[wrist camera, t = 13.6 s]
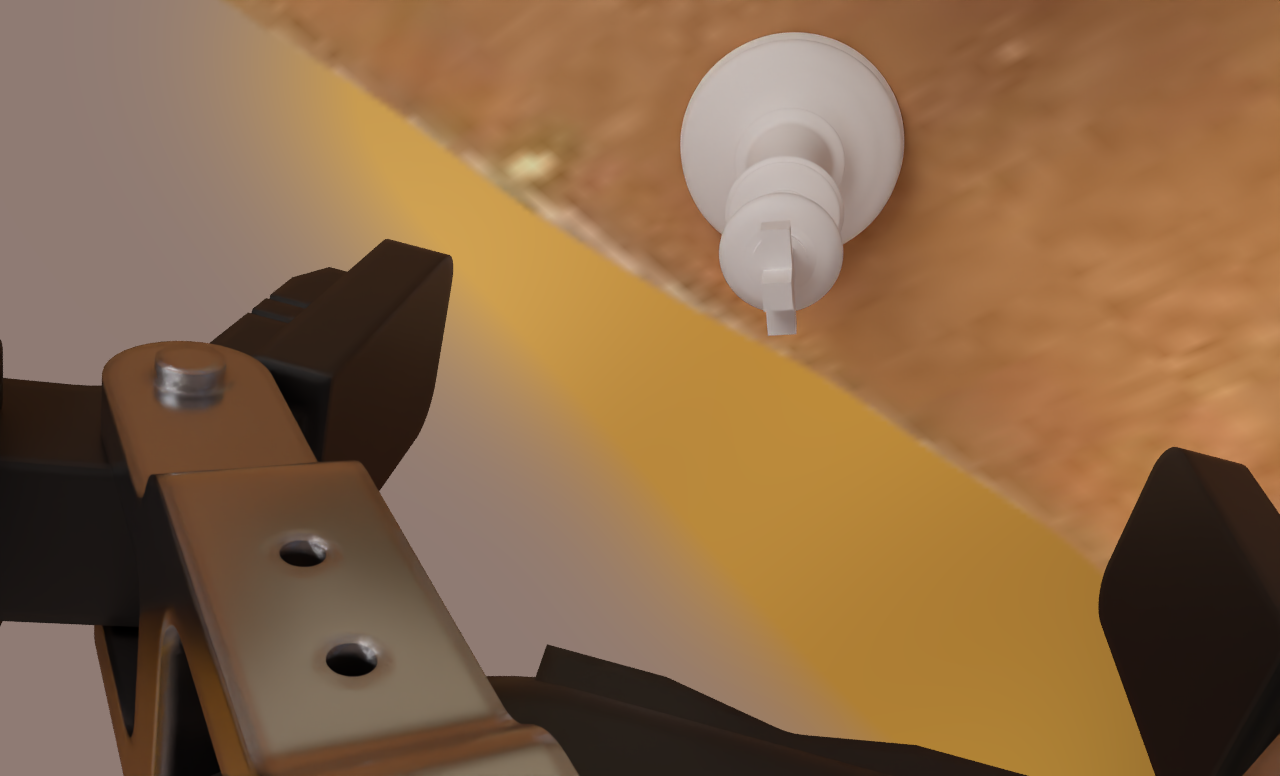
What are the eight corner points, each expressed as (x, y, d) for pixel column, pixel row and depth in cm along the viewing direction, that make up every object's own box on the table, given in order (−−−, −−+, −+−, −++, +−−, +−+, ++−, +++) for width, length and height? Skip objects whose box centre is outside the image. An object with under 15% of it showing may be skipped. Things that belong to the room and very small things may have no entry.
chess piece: (691, 259, 28) (631, 452, 19) (670, 43, 26) (592, 143, 17) (906, 244, 27) (951, 440, 18) (901, 20, 25) (947, 114, 16)
